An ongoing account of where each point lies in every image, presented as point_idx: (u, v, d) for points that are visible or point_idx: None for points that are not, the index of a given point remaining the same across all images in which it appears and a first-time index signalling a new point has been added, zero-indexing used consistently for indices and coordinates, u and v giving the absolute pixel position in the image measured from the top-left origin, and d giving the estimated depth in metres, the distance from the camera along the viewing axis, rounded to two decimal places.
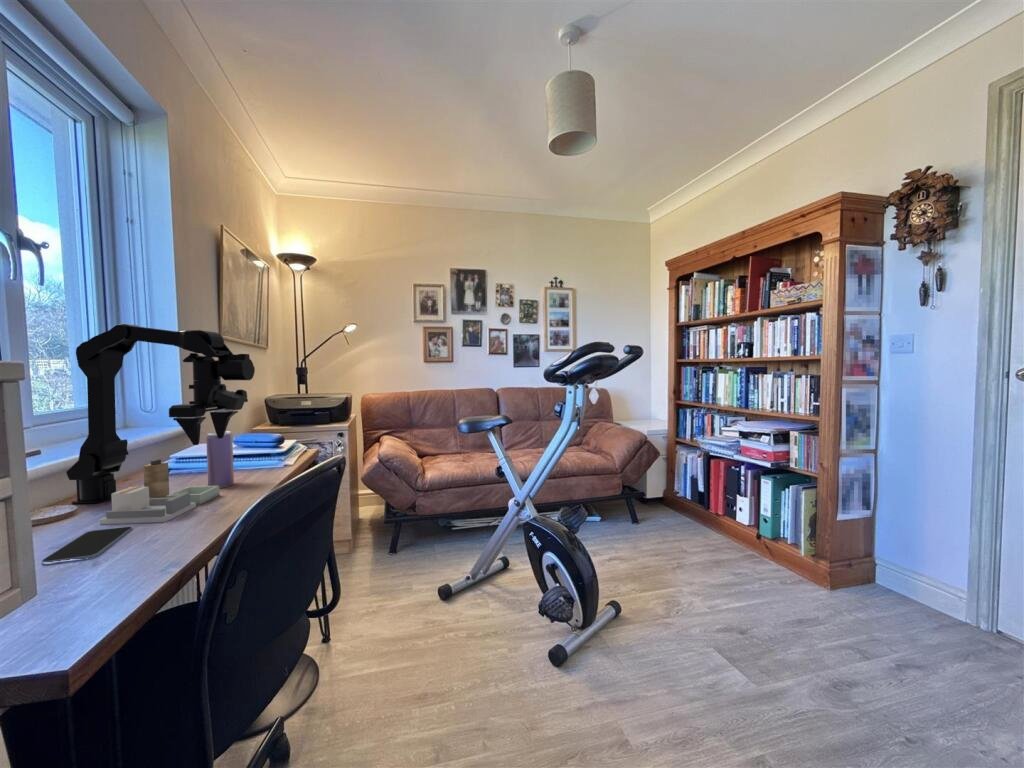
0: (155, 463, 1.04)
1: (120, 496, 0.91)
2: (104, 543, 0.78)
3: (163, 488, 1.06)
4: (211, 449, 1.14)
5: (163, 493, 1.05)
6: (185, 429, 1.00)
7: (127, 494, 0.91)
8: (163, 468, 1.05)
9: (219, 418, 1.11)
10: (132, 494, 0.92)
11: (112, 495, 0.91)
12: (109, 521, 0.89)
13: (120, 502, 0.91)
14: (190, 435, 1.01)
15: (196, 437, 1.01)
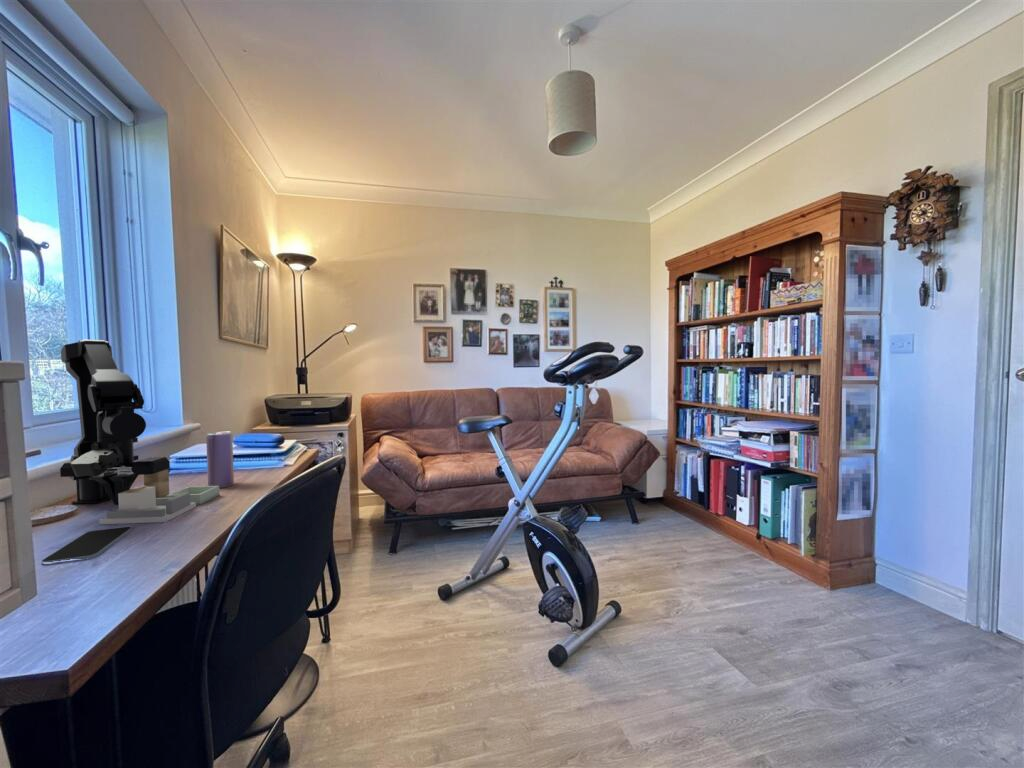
0: None
1: (127, 495, 0.91)
2: (104, 543, 0.78)
3: (163, 488, 1.06)
4: (211, 449, 1.14)
5: (163, 493, 1.05)
6: None
7: (134, 494, 0.92)
8: None
9: None
10: (139, 494, 0.92)
11: (119, 495, 0.91)
12: (109, 521, 0.89)
13: (127, 501, 0.91)
14: None
15: None
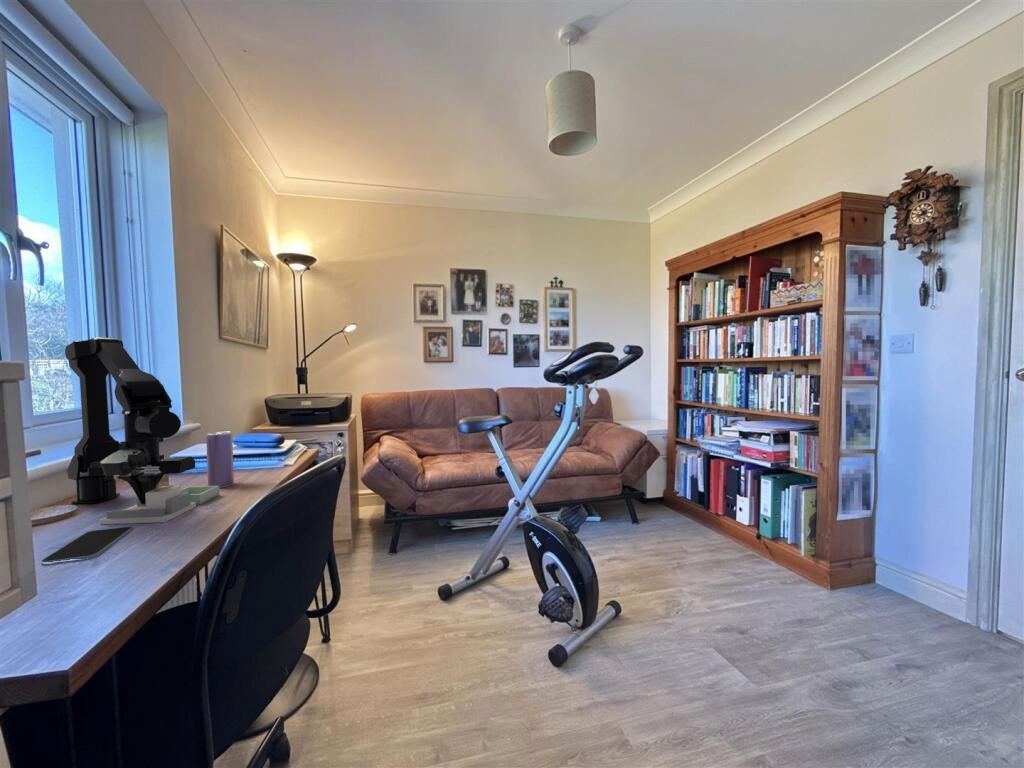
0: None
1: (154, 494, 0.92)
2: (104, 543, 0.78)
3: None
4: (211, 449, 1.14)
5: None
6: None
7: (161, 493, 0.92)
8: None
9: None
10: (166, 493, 0.93)
11: (146, 494, 0.92)
12: (109, 521, 0.89)
13: (154, 501, 0.92)
14: None
15: None
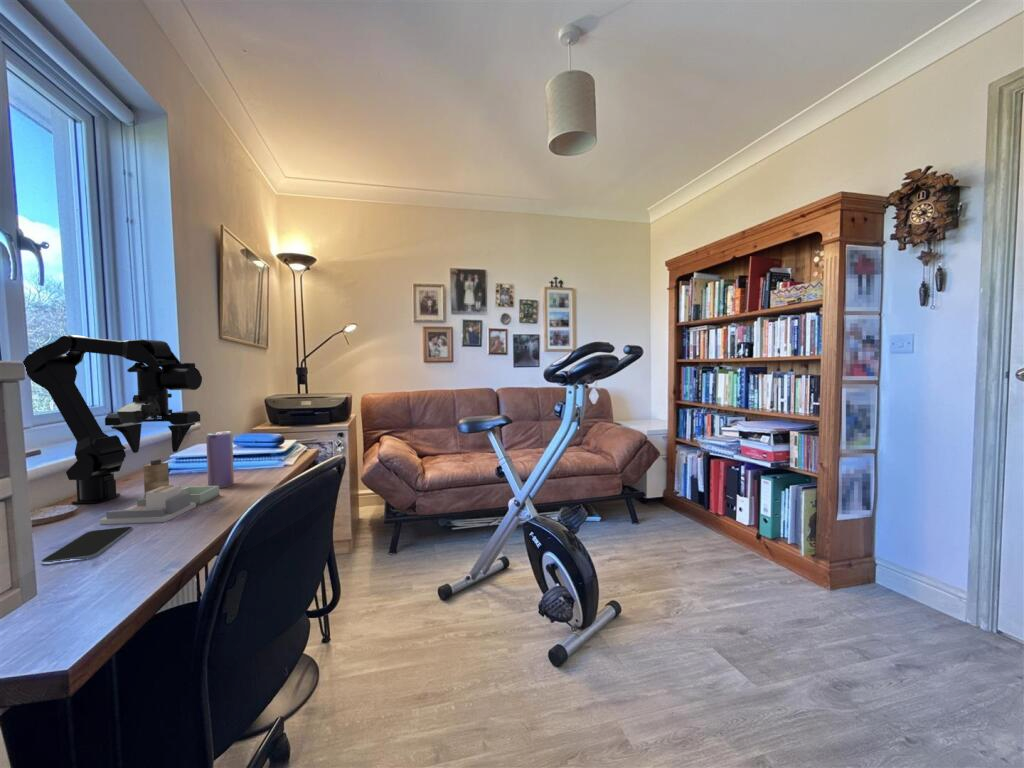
0: (155, 463, 1.04)
1: (154, 494, 0.92)
2: (104, 543, 0.78)
3: None
4: (211, 449, 1.14)
5: None
6: None
7: (161, 493, 0.92)
8: (163, 468, 1.05)
9: None
10: (166, 493, 0.93)
11: (146, 494, 0.92)
12: (109, 521, 0.89)
13: (154, 501, 0.92)
14: None
15: None
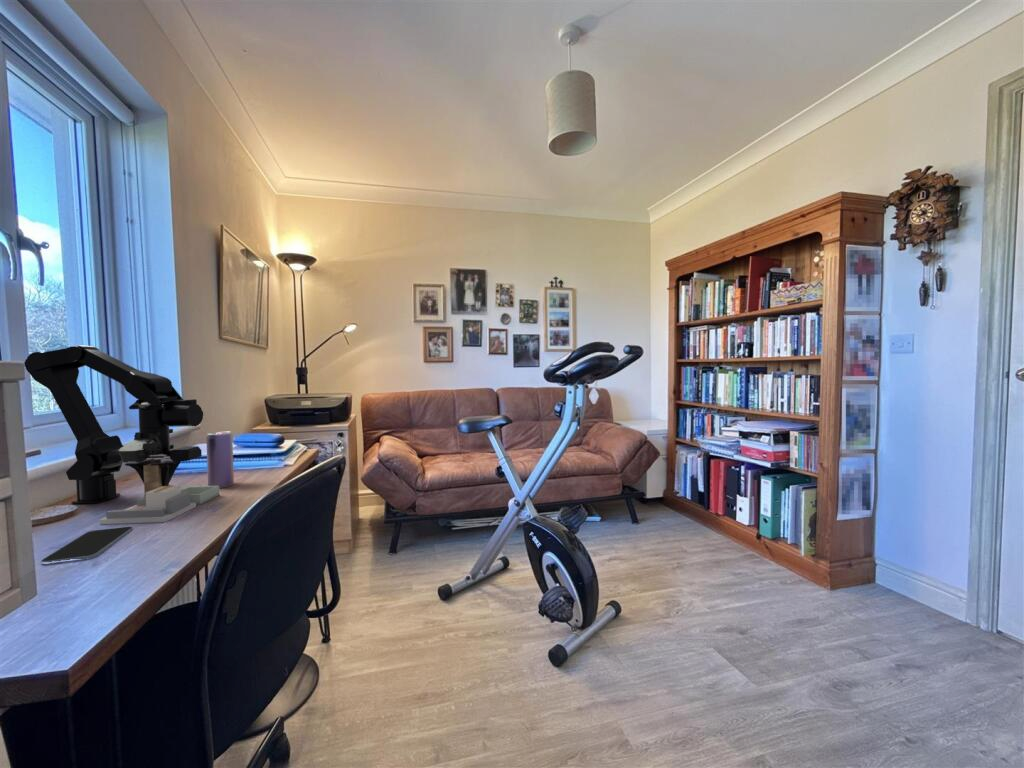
0: (155, 463, 1.04)
1: (154, 494, 0.92)
2: (104, 543, 0.78)
3: None
4: (211, 449, 1.14)
5: None
6: None
7: (161, 493, 0.92)
8: None
9: None
10: (166, 493, 0.93)
11: (146, 494, 0.92)
12: (109, 521, 0.89)
13: (154, 501, 0.92)
14: None
15: None
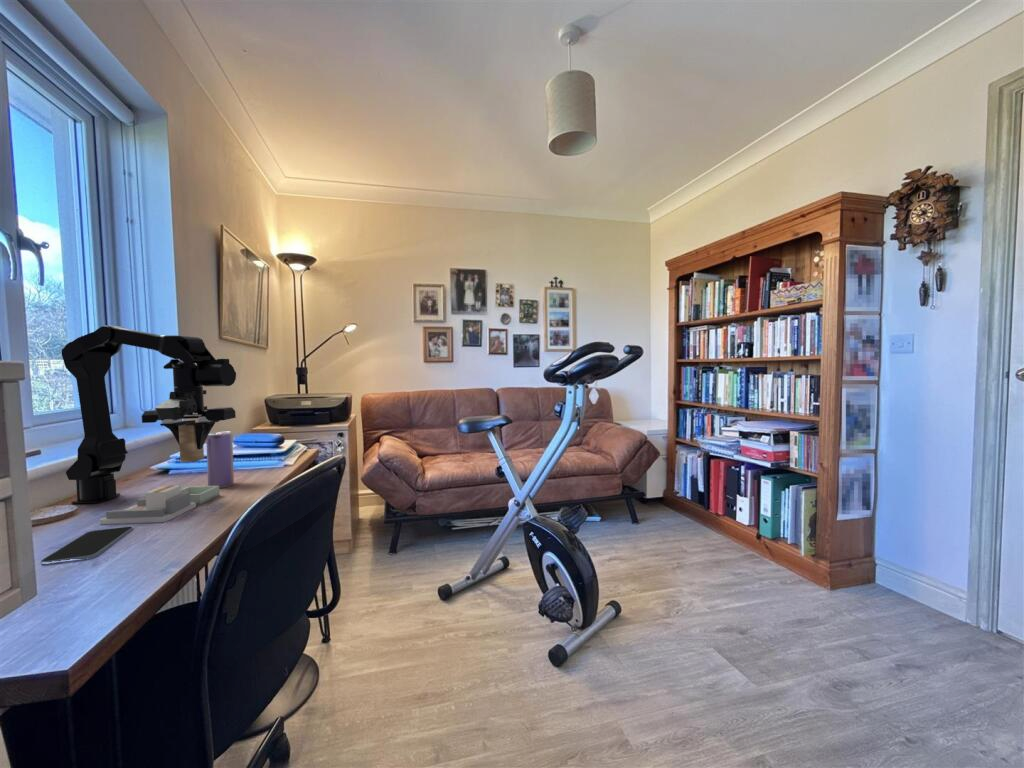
0: (190, 423, 1.03)
1: (154, 494, 0.92)
2: (104, 543, 0.78)
3: (198, 449, 1.04)
4: (211, 449, 1.14)
5: (198, 454, 1.04)
6: None
7: (161, 493, 0.92)
8: None
9: None
10: (166, 493, 0.93)
11: (146, 494, 0.92)
12: (109, 521, 0.89)
13: (154, 501, 0.92)
14: None
15: None
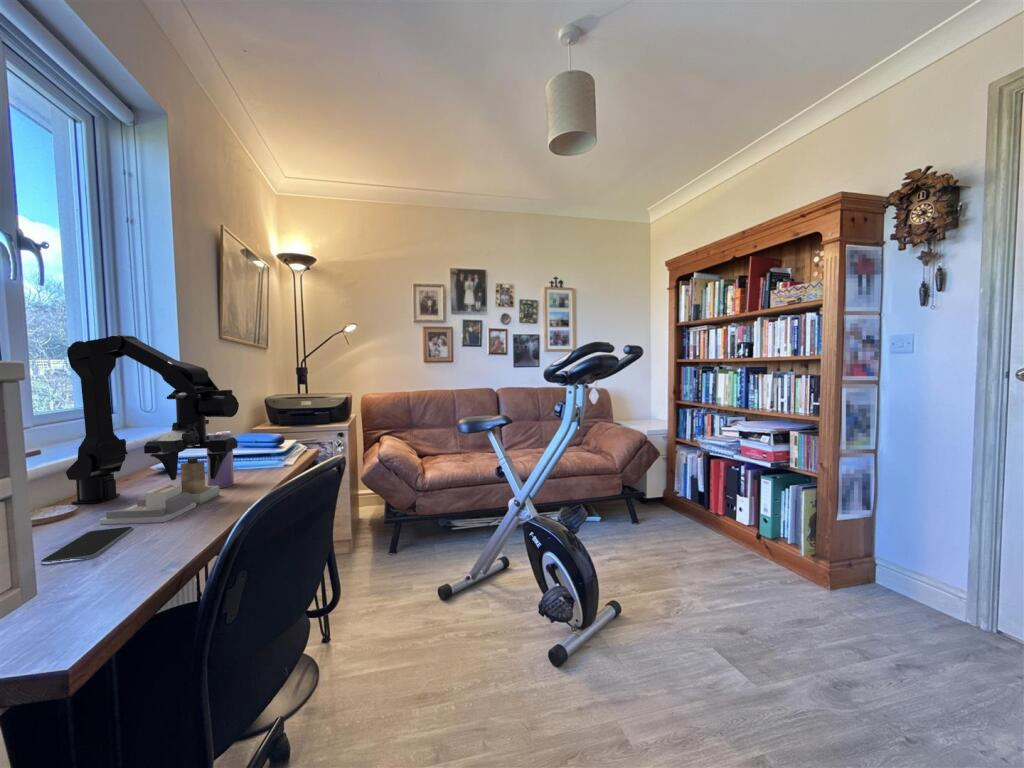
0: (192, 461, 1.03)
1: (154, 494, 0.92)
2: (104, 543, 0.78)
3: (200, 487, 1.04)
4: None
5: (200, 492, 1.04)
6: None
7: (161, 493, 0.92)
8: (199, 466, 1.04)
9: None
10: (166, 493, 0.93)
11: (146, 494, 0.92)
12: (109, 521, 0.89)
13: (154, 501, 0.92)
14: None
15: None
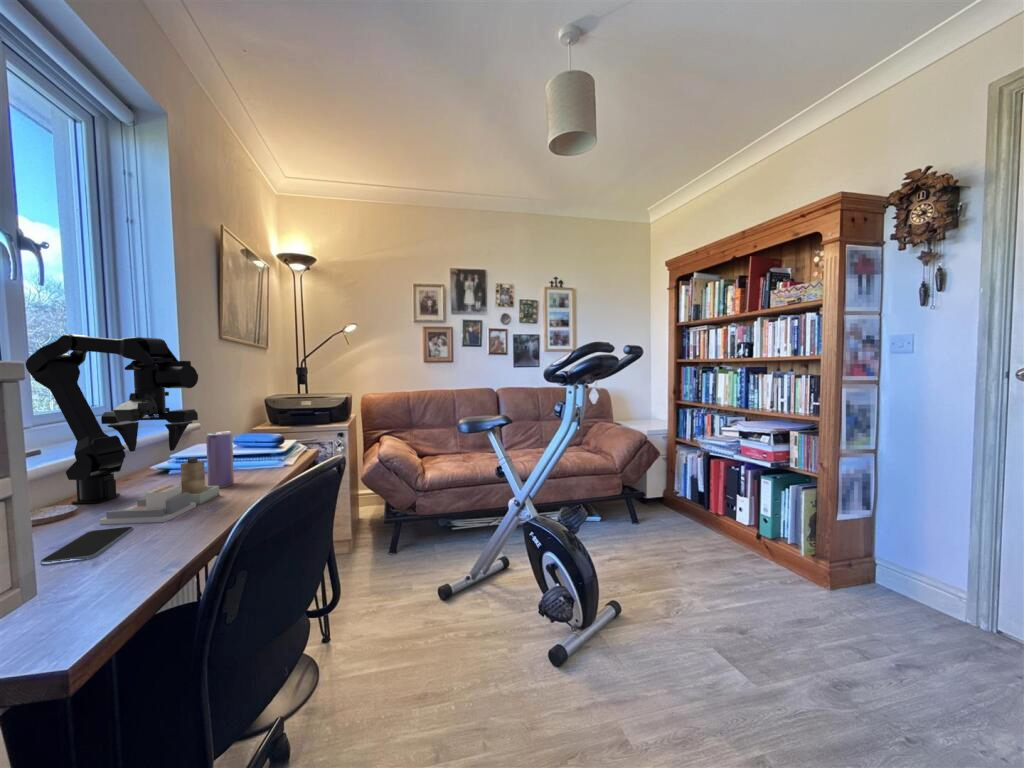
0: (192, 461, 1.03)
1: (154, 494, 0.92)
2: (103, 543, 0.78)
3: (200, 487, 1.04)
4: (211, 449, 1.14)
5: (200, 492, 1.04)
6: None
7: (161, 493, 0.92)
8: (199, 466, 1.04)
9: None
10: (166, 493, 0.93)
11: (146, 494, 0.92)
12: (109, 521, 0.89)
13: (154, 501, 0.92)
14: None
15: None
